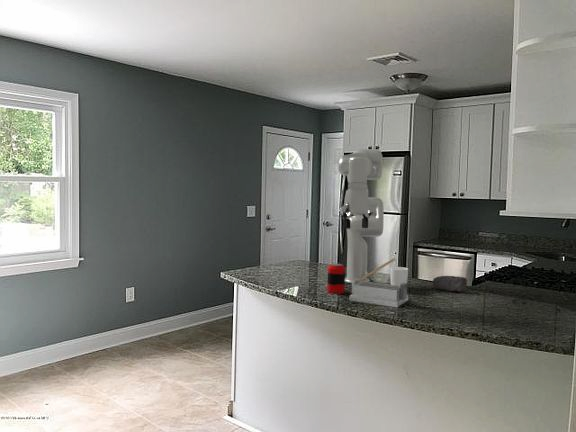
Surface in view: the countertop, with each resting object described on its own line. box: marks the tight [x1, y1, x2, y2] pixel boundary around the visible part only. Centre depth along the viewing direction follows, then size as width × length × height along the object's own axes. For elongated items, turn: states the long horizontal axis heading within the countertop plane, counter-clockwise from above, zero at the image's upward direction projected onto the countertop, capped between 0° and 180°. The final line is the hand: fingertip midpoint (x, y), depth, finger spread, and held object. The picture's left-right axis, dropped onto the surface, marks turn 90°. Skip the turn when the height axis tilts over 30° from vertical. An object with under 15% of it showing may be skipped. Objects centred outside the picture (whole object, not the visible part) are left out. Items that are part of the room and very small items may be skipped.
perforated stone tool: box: [431, 275, 468, 293], centre depth 222 cm, size 15×5×7 cm, turn 54°
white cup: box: [389, 266, 409, 286], centre depth 220 cm, size 8×8×10 cm
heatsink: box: [349, 278, 409, 308], centre depth 201 cm, size 14×22×8 cm, turn 60°
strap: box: [356, 258, 396, 283], centre depth 201 cm, size 4×18×1 cm
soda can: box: [326, 263, 346, 295], centre depth 215 cm, size 8×8×12 cm
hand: (356, 228), depth 205 cm, fingers open, 9 cm apart
